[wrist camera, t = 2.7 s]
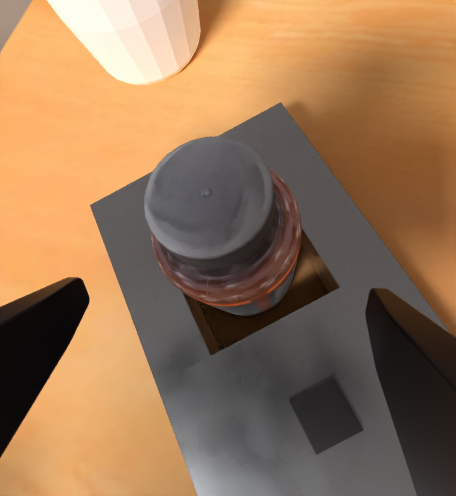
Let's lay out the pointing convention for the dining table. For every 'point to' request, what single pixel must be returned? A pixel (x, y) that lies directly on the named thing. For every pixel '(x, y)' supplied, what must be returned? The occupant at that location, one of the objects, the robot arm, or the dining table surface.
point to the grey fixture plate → (273, 346)
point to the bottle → (135, 35)
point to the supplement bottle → (223, 225)
